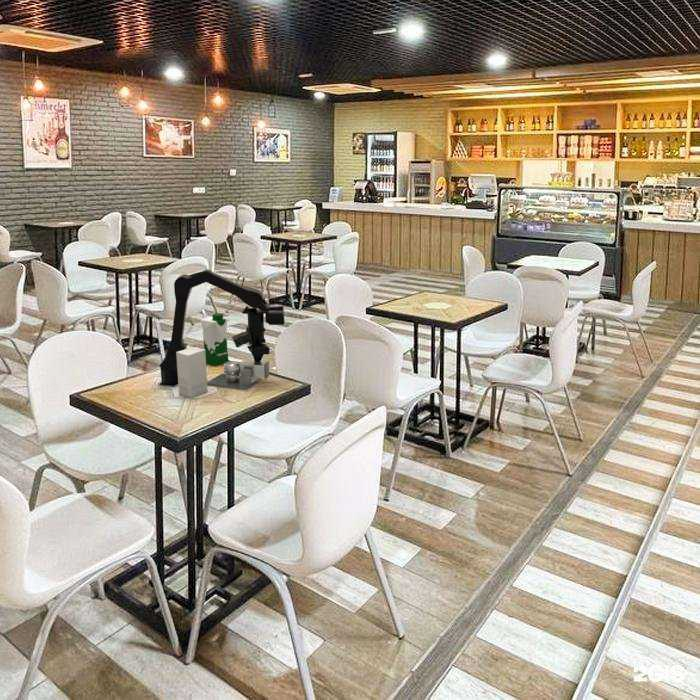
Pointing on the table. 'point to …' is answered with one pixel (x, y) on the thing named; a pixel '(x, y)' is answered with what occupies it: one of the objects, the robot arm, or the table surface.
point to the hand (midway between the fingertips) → (257, 366)
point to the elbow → (256, 368)
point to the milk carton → (215, 339)
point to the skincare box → (192, 372)
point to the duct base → (230, 384)
